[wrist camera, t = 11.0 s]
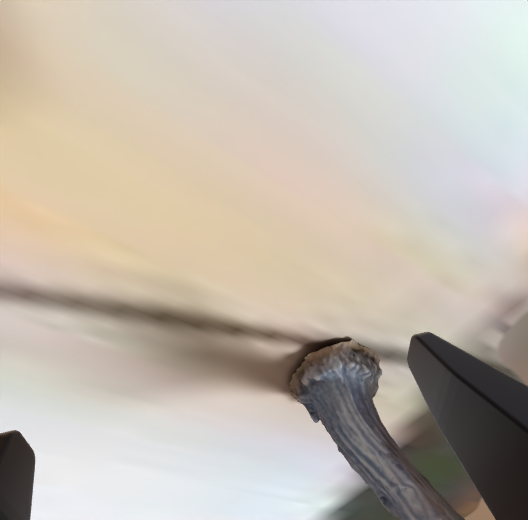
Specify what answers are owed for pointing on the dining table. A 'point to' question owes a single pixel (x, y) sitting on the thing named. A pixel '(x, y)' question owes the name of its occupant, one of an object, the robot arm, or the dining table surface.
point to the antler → (364, 429)
